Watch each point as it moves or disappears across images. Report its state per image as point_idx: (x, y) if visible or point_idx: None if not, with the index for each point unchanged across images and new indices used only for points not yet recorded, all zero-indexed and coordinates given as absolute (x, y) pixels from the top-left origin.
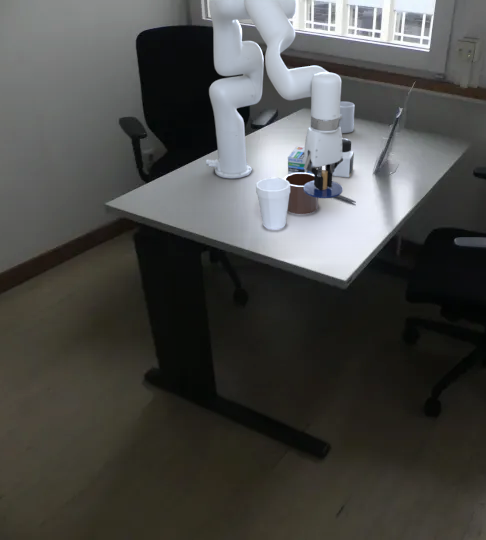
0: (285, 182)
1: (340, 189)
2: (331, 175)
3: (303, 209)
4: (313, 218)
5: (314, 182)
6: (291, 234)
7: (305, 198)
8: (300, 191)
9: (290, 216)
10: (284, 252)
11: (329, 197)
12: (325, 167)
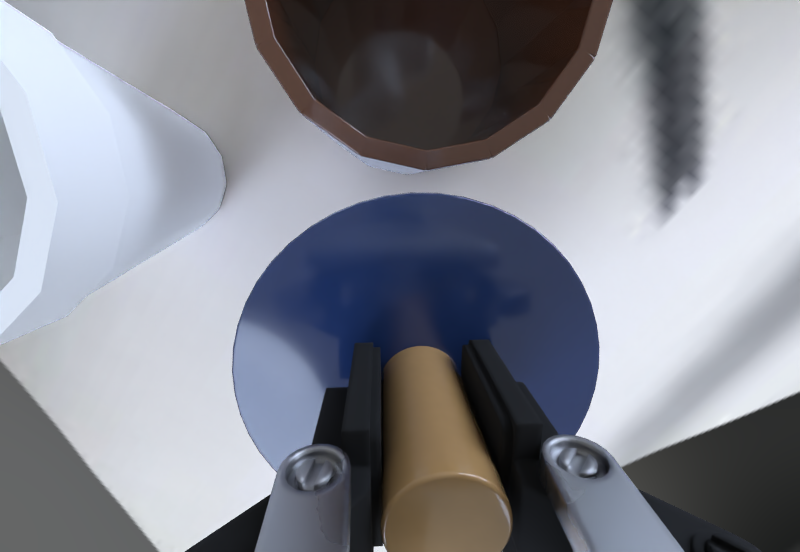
0: (31, 171)
1: None
2: (511, 545)
3: (362, 161)
4: None
5: (323, 406)
6: (208, 297)
7: (372, 163)
8: (332, 137)
9: (298, 126)
10: (108, 409)
11: None
12: (554, 481)
